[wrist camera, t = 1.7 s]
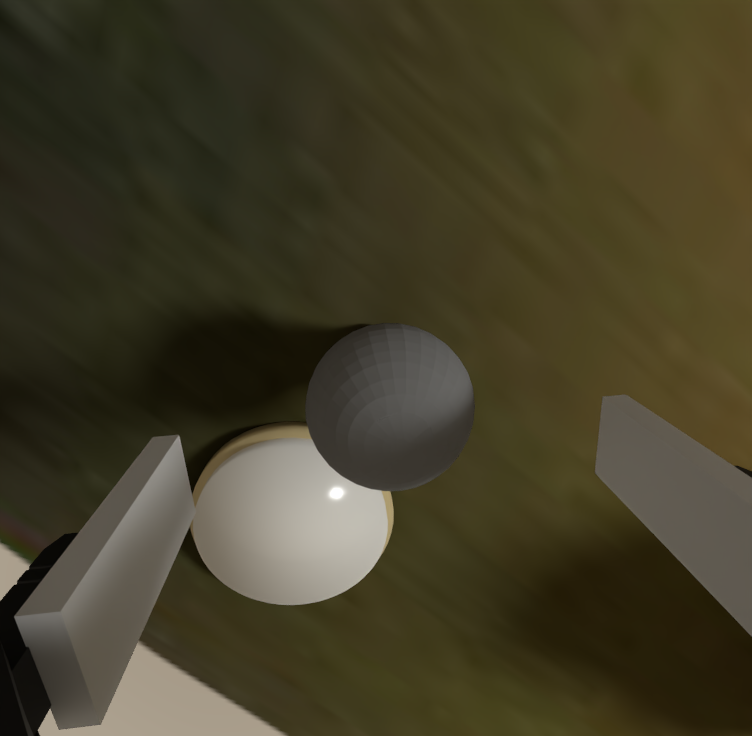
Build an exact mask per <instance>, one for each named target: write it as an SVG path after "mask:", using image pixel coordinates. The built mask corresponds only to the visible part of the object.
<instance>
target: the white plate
mask: <svg viewBox="0 0 752 736" xmlns="http://www.w3.org/2000/svg"><path fill="white" fill-rule="evenodd" d="M192 497H193V501H194V506H195V511H196V513H195V515H194V518H193V520H192V522H191V524H190V528H191V533H192V536H193V539H194V542H195V544H196V547H197V550H198V552H199V554H200V556H201V558H202V560H203V562H204V563H205V564H206V566H207V567H208V569H209V570H210V571H211V572H212V573H213V574H214V575H215V576H216V577H217V578H218V579H219V580H220V581H221V582H222V583H224V584H225V585H226V586H228V587H229V588H231V589H233V590H234V591H236V592H238V593H240V594H242V595H244V596H247V597H249V598H252V599H255V600H258V601H262V602H266V603H272V604H279V605H299V604H308V603H314V602H318V601H322V600H326V599H328V598H331V597H334V596H336V595H338V594H340V593H342V592H344V591H346V590H348V589H349V588H351V587H352V586H354V585H355V584H357V583H358V582H359V581H360V580H361V579H363V578H364V577H365V576H366V575H367V574H368V572H369V571H370V570H371V569H372V568H373V566H374V565H375V564H376V562H377V561H378V559H379V557H380V556H381V554H382V553H383V551H384V549H385V547H386V545H387V543H388V541H389V538H390V535H391V532H392V526H393V514H394V510H393V503H392V497H391V491H381V490H374V489H369V488H366V487H363V486H360V485H357V484H355V483H353V482H351V481H350V480H348V479H346V478H344V477H343V476H341V475H340V474H339V473H337V472H336V471H335V470H334V469H333V468H331V467H330V466H329V465H328V463H327V462H326V461H325V460H324V458H323V457H322V456H321V454H320V453H319V452H318V450H317V448H316V446H315V444H314V442H313V440H312V438H311V436H310V433H309V429H308V425H307V422H279V423H272V424H267V425H263V426H260V427H256V428H253V429H251V430H249V431H246V432H244V433H242V434H240V435H238V436H237V437H235V438H233V439H231V440H230V441H229V442H227V443H226V444H225V445H223V446H222V447H221V448H220V449H219V450H218V451H217V452H216V453H215V454H214V455H213V456H212V458H211V459H210V460H209V462H208V463H207V464H206V466H205V468H204V470H203V471H202V473H201V475H200V477H199V479H198V481H197V484H196V486H195V488H194V491H193V494H192Z"/></svg>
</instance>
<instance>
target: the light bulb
mask: <svg viewBox="0 0 752 736" xmlns="http://www.w3.org/2000/svg"><path fill="white" fill-rule="evenodd" d="M474 409H475V404H474V395H473V387H472V384H471V381H470V378H469V375H468V372H467V371H466V369H465V367H464V366H463V364H462V362H461V361H460V359H459V358H458V357H457V355H456V354H455V353H454V352H453V351H452V350H451V349H450V348H449V347H448V346H447V345H446V344H445V343H444V342H442V341H441V340H439V339H438V338H436V337H435V336H434V335H432V334H431V333H429V332H426V331H424V330H421V329H419V328H417V327H413V326H408V325H403V324H398V323H382V324H376V325H370V326H366V327H363V328H361V329H359V330H356V331H354V332H351V333H350V334H348V335H347V336H345V337H344V338H342V339H340V340H339V341H338V342H337V343H335V344H334V345H333V346H332V347H331V348H330V349H329V350H328V351H327V352H326V353H325V355H324V356H323V358H322V359H321V360H320V362H319V363H318V365H317V366H316V368H315V371H314V373H313V375H312V378H311V380H310V382H309V387H308V392H307V397H306V421H307V425H308V429H309V433H310V436H311V438H312V440H313V442H314V444H315V446H316V448H317V450H318V452H319V453H320V454H321V456H322V457H323V458H324V460H325V461H326V462H327V463H328V465H329V466H330V467H331V468H333V469H334V470H335V471H336V472H337V473H339V474H340V475H341V476H343V477H344V478H346V479H348V480H350V481H351V482H353V483H355V484H357V485H360V486H363V487H366V488H369V489H374V490H381V491H401V490H407V489H412V488H415V487H418V486H420V485H423V484H426V483H427V482H429V481H431V480H433V479H434V478H436V477H438V476H439V475H440V474H442V473H443V472H444V471H445V470H446V469H448V468H449V467H450V466H451V465H452V463H453V462H454V461H455V460H456V459H457V457H458V456H459V455H460V453H461V451H462V449H463V448H464V446H465V444H466V442H467V440H468V438H469V435H470V432H471V429H472V425H473V418H474Z"/></svg>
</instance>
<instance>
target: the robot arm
mask: <svg viewBox="0 0 752 736" xmlns="http://www.w3.org/2000/svg"><path fill="white" fill-rule="evenodd" d="M595 474H596V475H597V476H598V477H599V478H600V479H601V480H602V481H603V482H604V483H605V484H606V485H607V486H608V487H609V488H610V489H611V490H612V491H613V492H614V493H615V494H616V495H617V497H618V498H619V499H620V500H621V501H622V502H623V503H624V504H625V505H626V506H627V507H628V508H629V509H630V510H631V511H632V512H633V513H634V514H635V515H636V516H637V517H638V518H639V519H640V521H641V522H642V523H643V524H644V525H645V526H646V527H647V528H648V529H649V530H650V531H651V532H652V533H653V534H654V535H655V536H656V537H657V538H658V539H659V540H660V541H661V542H662V543H663V544H664V546H665V547H666V548H667V549H668V550H669V551H670V552H671V553H672V554H673V555H674V556H675V557H676V558H677V559H678V560H679V561H680V562H681V563H682V564H683V565H684V566H685V567H686V568H687V570H688V571H689V572H690V573H691V574H692V575H693V576H694V577H695V578H696V579H697V580H698V581H699V582H700V583H701V584H702V585H703V586H704V587H705V588H706V589H707V590H708V591H709V592H710V594H711V595H712V596H713V597H714V598H715V599H716V600H717V601H718V602H719V603H720V604H721V605H722V606H723V607H724V608H725V609H726V610H727V611H728V612H729V613H730V614H731V615H732V616H733V617H734V619H735V620H736V621H737V622H738V623H739V624H740V625H741V626H742V627H743V628H744V629H745V630H746V631H747V632H748V633H749V634H750V635H751V636H752V471H749V470H747V469H744V468H742V467H739V466H733V465H731V464H730V463H728V462H727V461H725V460H724V459H722V458H721V457H719V456H718V455H716V454H715V453H713V452H712V451H710V450H709V449H707V448H706V447H704V446H703V445H701V444H700V443H698V442H697V441H695V440H694V439H692V438H691V437H689V436H688V435H686V434H685V433H683V432H682V431H680V430H679V429H677V428H676V427H674V426H673V425H671V424H670V423H668V422H667V421H665V420H664V419H662V418H661V417H659V416H657V415H656V414H654V413H653V412H651V411H650V410H648V409H647V408H645V407H644V406H642V405H641V404H639V403H638V402H636V401H635V400H633V399H632V398H630V397H629V396H627V395H617V396H606V397H603V398H602V408H601V418H600V428H599V437H598V447H597V457H596V467H595ZM195 513H196V511H195V506H194V501H193V497H192V492H191V488H190V483H189V478H188V474H187V469H186V465H185V460H184V455H183V451H182V446H181V442H180V437H179V435H171V436H160V437H153V438H152V439H151V440H150V442H149V443H148V444H147V446H146V447H145V448H144V449H143V451H142V452H141V453H140V455H139V456H138V457H137V458H136V460H135V461H134V462H133V464H132V465H131V466H130V467H129V469H128V470H127V471H126V473H125V474H124V475H123V477H122V478H121V479H120V480H119V482H118V483H117V484H116V486H115V487H114V488H113V489H112V491H111V492H110V493H109V495H108V496H107V497H106V498H105V500H104V501H103V502H102V504H101V505H100V506H99V507H98V509H97V510H96V511H95V513H94V514H93V515H92V517H91V518H90V519H89V520H88V522H87V523H86V524H85V526H84V527H83V528H82V529H81V531H80V532H79V533H71V534H64V535H63V536H62V537H60V538H59V539H57V540H56V541H55V542H53V543H52V544H51V545H49V546H48V547H47V548H45V549H44V550H43V551H42V552H41V553H40V555H39V556H38V557H37V558H36V559H35V560H34V562H33V563H32V564H31V565H30V566H29V570H26V571H25V573H24V574H23V575H22V576H21V577H20V578H19V580H18V581H17V585H14V586H13V587H12V588H11V589H10V590H9V592H8V593H7V594H6V595H5V596H4V597H3V599H2V600H1V601H0V736H40V735H39V733H38V729H39V727H40V725H41V723H42V721H43V720H44V718H45V716H46V714H47V713H48V711H49V709H50V708H51V711H52V714H53V716H54V719H55V721H56V724H57V726H58V729H59V730H60V729H68V728H77V727H85V726H92V725H100V724H101V723H102V720H103V718H104V716H105V713H106V712H107V709H108V707H109V705H110V703H111V700H112V698H113V696H114V694H115V691H116V689H117V687H118V685H119V683H120V680H121V678H122V676H123V673H124V671H125V669H126V667H127V665H128V662H129V660H130V658H131V656H132V654H133V651H134V649H135V647H136V645H137V642H138V640H139V638H140V636H141V634H142V631H143V629H144V627H145V625H146V622H147V620H148V618H149V616H150V613H151V611H152V609H153V607H154V605H155V602H156V600H157V598H158V596H159V593H160V591H161V589H162V587H163V584H164V582H165V580H166V578H167V576H168V573H169V571H170V569H171V567H172V564H173V562H174V560H175V558H176V556H177V553H178V551H179V549H180V547H181V544H182V542H183V540H184V538H185V535H186V533H187V531H188V529H189V527H190V524H191V522H192V520H193V518H194V515H195Z"/></svg>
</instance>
